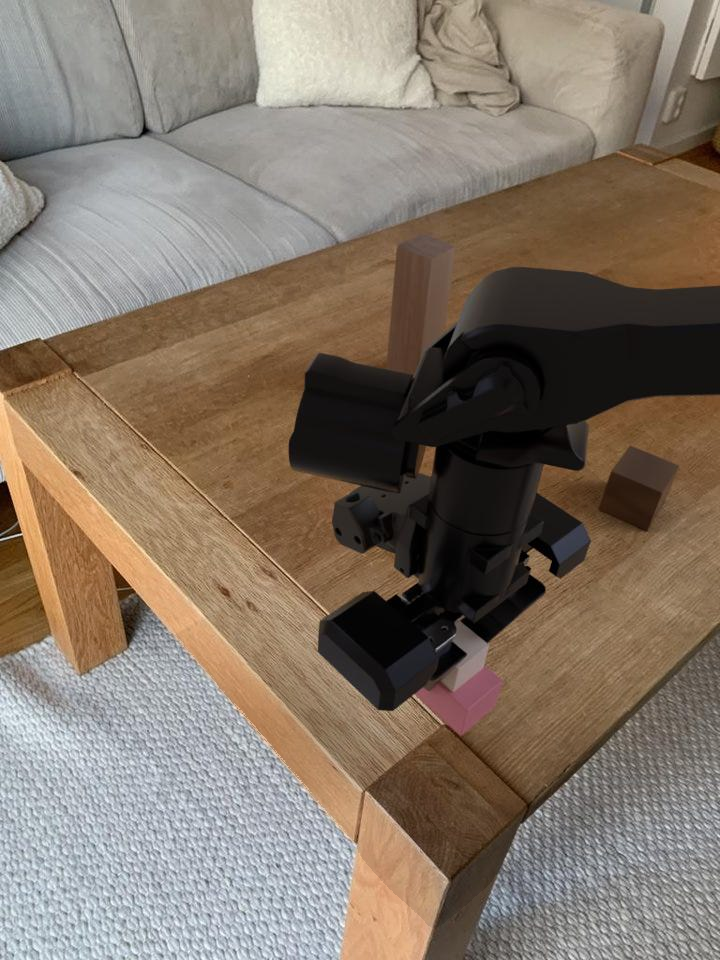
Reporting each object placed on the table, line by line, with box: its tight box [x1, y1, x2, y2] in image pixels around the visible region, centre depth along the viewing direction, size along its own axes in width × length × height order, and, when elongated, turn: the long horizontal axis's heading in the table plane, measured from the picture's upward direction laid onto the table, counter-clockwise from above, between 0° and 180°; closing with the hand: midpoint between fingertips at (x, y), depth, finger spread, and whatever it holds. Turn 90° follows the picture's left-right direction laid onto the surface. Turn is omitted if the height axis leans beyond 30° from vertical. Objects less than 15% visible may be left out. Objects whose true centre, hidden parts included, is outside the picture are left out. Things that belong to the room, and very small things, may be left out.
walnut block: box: [598, 445, 680, 532], centre depth 79 cm, size 5×5×5 cm
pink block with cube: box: [414, 621, 504, 737], centre depth 55 cm, size 7×4×6 cm, turn 42°
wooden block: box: [385, 233, 457, 378], centre depth 89 cm, size 9×4×18 cm, turn 141°
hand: (444, 669), depth 55 cm, fingers closed on pink block with cube, 3 cm apart
